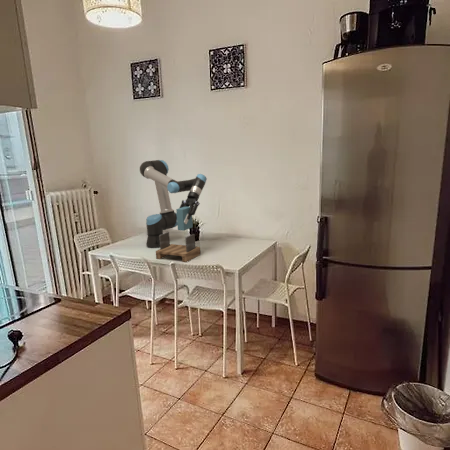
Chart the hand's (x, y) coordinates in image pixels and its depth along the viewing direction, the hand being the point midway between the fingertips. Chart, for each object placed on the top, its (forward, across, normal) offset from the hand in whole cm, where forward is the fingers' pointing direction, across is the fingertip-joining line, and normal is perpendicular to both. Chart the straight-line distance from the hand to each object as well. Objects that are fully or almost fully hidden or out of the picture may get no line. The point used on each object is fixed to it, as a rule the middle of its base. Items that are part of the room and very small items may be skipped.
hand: (181, 222), depth 236 cm
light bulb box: (-14, +67, -51) cm, 85 cm away
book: (+1, 0, -6) cm, 6 cm away
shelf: (+17, +6, -18) cm, 25 cm away
